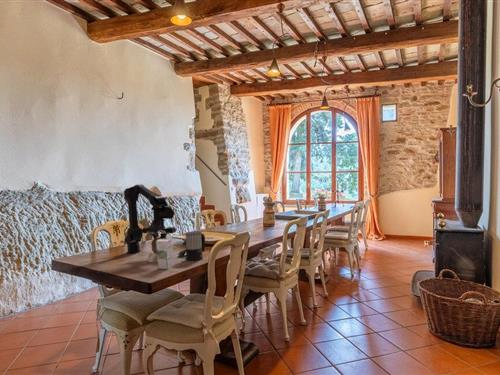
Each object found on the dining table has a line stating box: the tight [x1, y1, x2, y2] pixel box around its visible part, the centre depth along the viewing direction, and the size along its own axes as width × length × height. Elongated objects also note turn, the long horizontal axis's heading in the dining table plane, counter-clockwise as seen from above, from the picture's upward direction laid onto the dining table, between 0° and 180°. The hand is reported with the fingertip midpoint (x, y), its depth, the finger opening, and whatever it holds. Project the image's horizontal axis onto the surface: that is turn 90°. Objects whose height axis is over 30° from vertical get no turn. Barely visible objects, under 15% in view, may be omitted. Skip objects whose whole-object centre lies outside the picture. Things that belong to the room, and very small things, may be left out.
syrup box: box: [156, 238, 173, 270], centre depth 175 cm, size 6×6×14 cm
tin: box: [151, 235, 168, 253], centre depth 200 cm, size 15×3×8 cm, turn 167°
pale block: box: [147, 250, 157, 263], centre depth 200 cm, size 10×20×4 cm, turn 6°
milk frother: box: [178, 230, 206, 262], centre depth 196 cm, size 14×16×15 cm
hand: (159, 245), depth 200 cm, fingers open, 2 cm apart
